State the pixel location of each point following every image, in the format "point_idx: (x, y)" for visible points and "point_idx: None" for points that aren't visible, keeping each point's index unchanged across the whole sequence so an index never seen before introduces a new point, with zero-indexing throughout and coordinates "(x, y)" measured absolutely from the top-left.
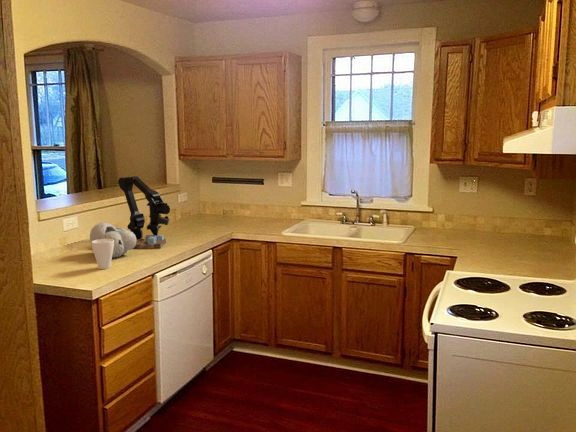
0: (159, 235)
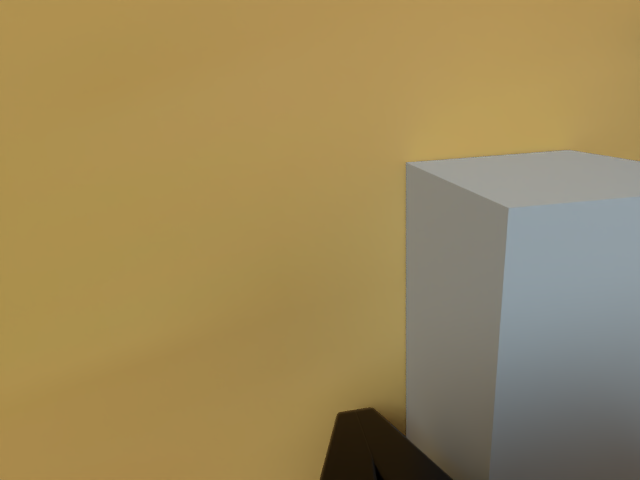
0: (635, 333)
